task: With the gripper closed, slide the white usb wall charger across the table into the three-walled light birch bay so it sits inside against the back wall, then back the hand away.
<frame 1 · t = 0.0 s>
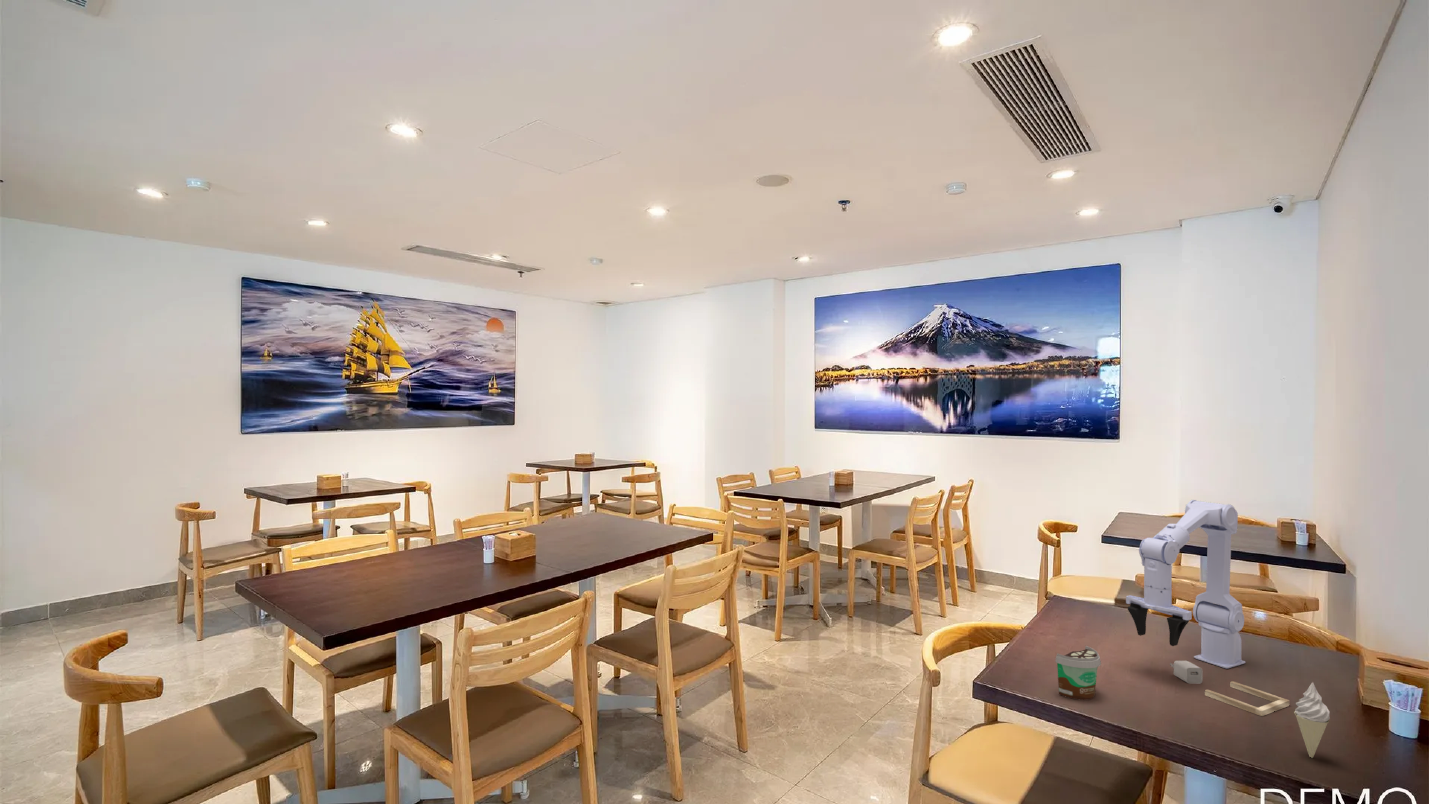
hand: (1157, 639, 158), 10 cm above the table, tool pointing down, fingers open, 7 cm apart
ice cream cone: (1311, 758, 123), on the table
food container: (1083, 696, 149), on the table
usb wall charger: (1183, 678, 160), on the table
charger bay: (1243, 699, 148), on the table
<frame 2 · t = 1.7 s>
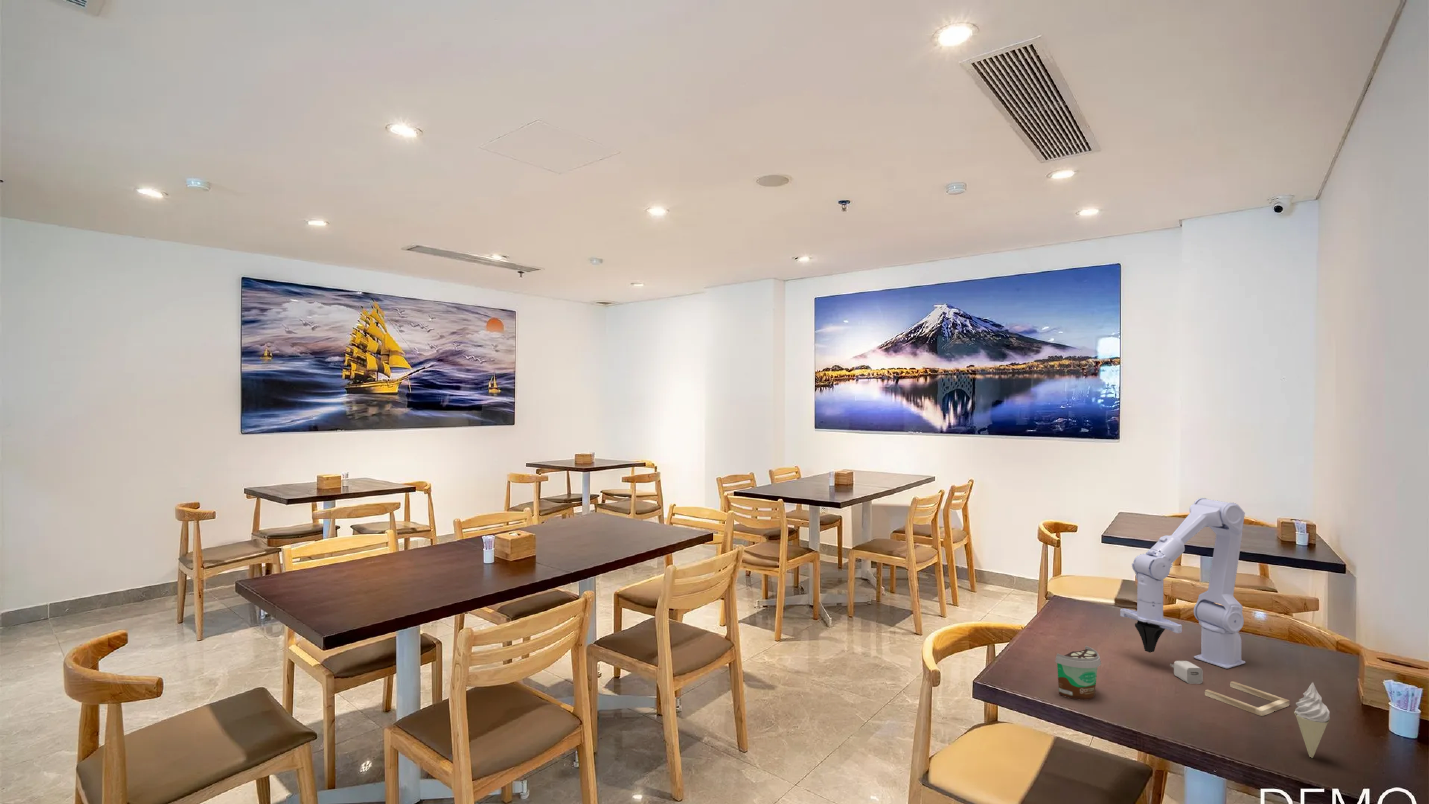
hand: (1149, 651, 167), 4 cm above the table, tool pointing down, fingers closed
nothing on the table moved.
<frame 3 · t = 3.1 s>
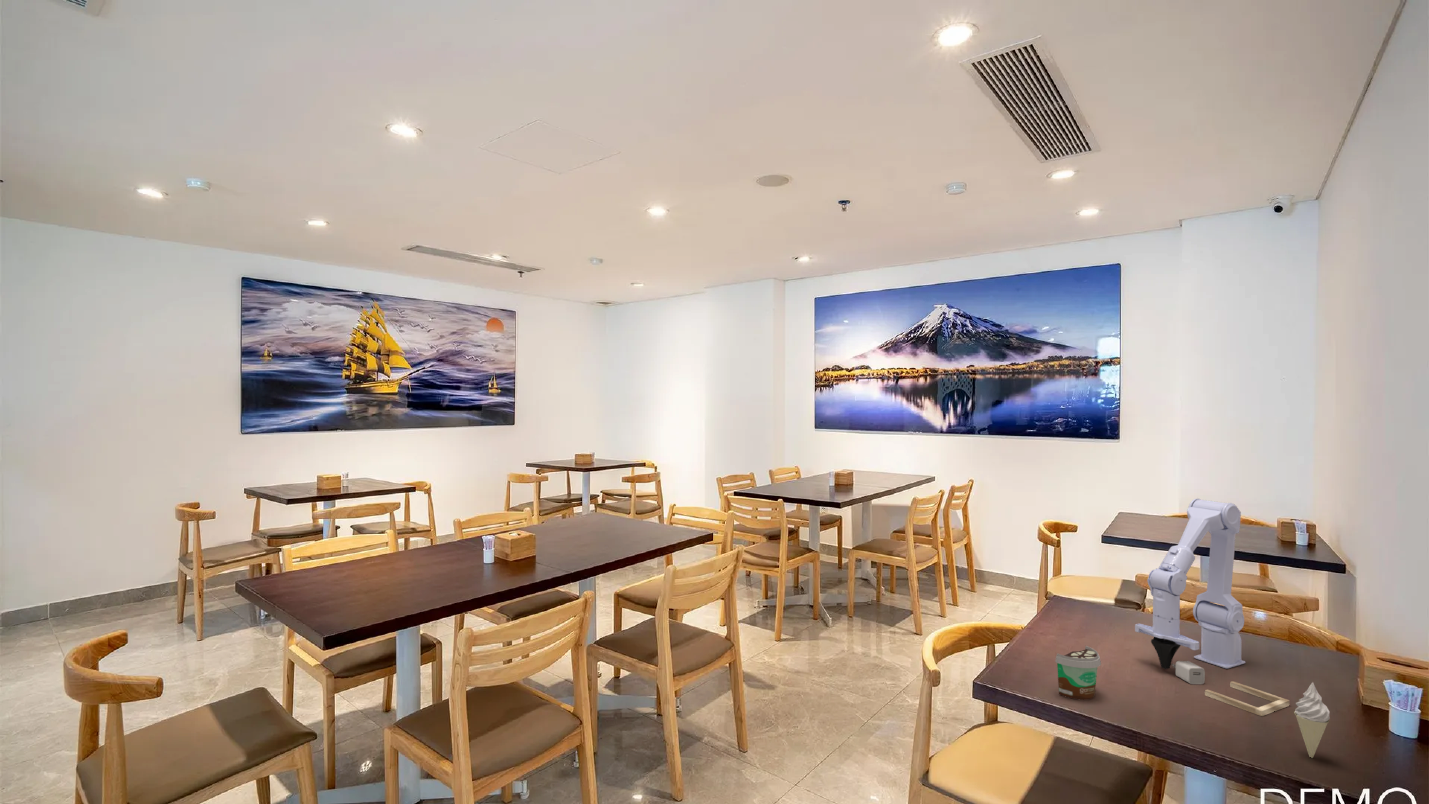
hand: (1165, 667, 163), 1 cm above the table, tool pointing down, fingers closed
usb wall charger: (1185, 678, 159), on the table, touching gripper
everything else where it was.
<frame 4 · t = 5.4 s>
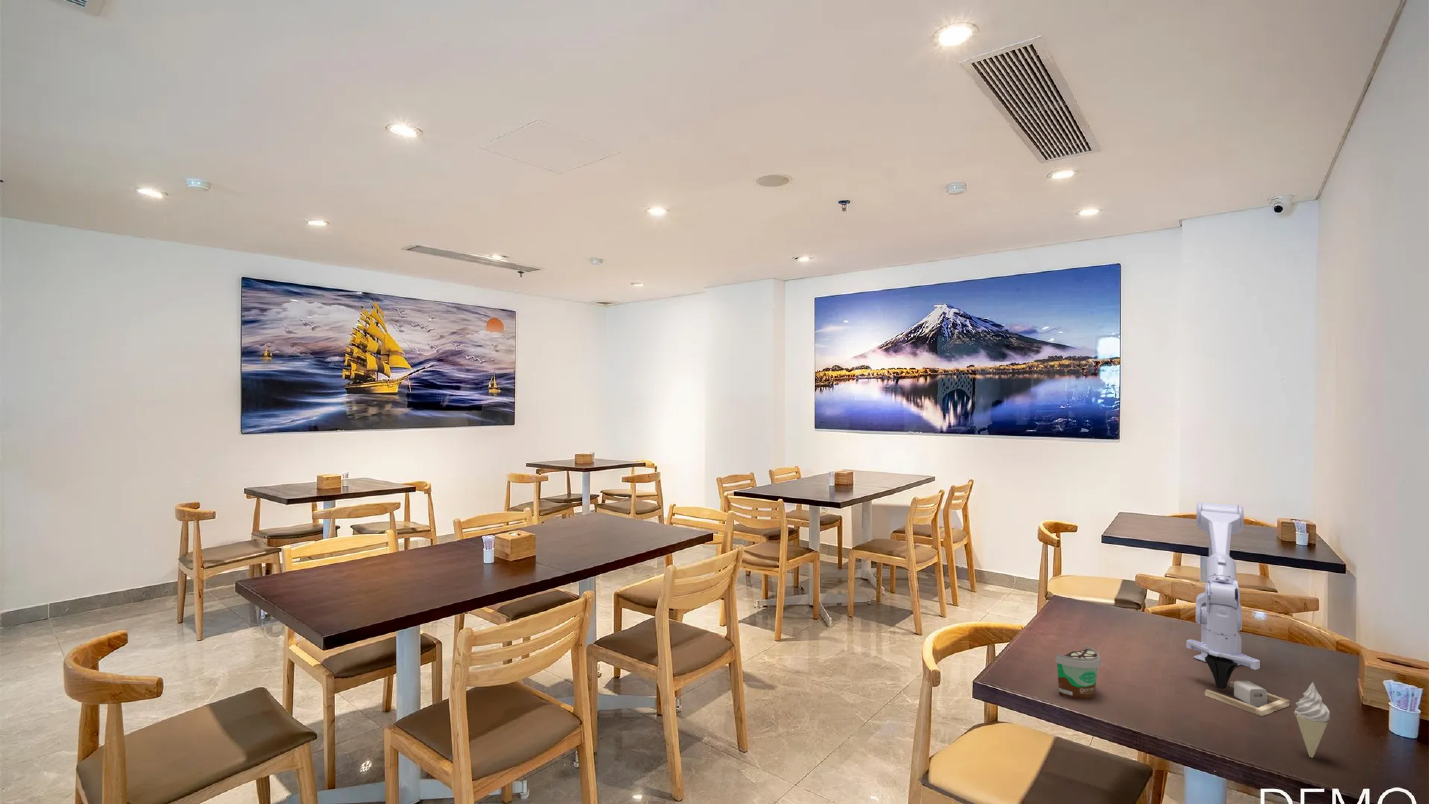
hand: (1221, 687, 152), 1 cm above the table, tool pointing down, fingers closed
usb wall charger: (1245, 700, 148), on the table, touching gripper
everything else where it was.
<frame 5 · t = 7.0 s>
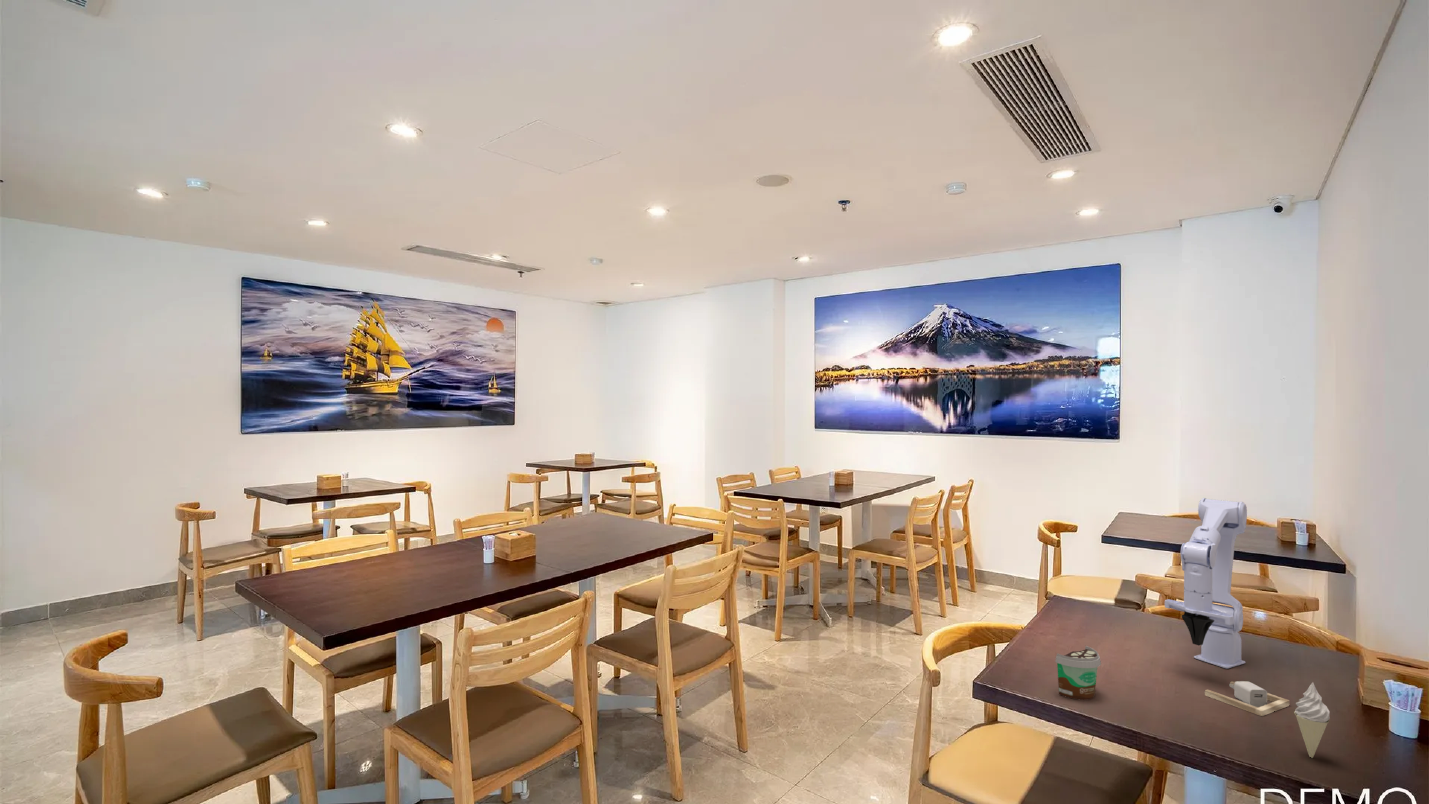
hand: (1197, 644, 158), 9 cm above the table, tool pointing down, fingers closed
usb wall charger: (1245, 700, 148), on the table
everything else where it was.
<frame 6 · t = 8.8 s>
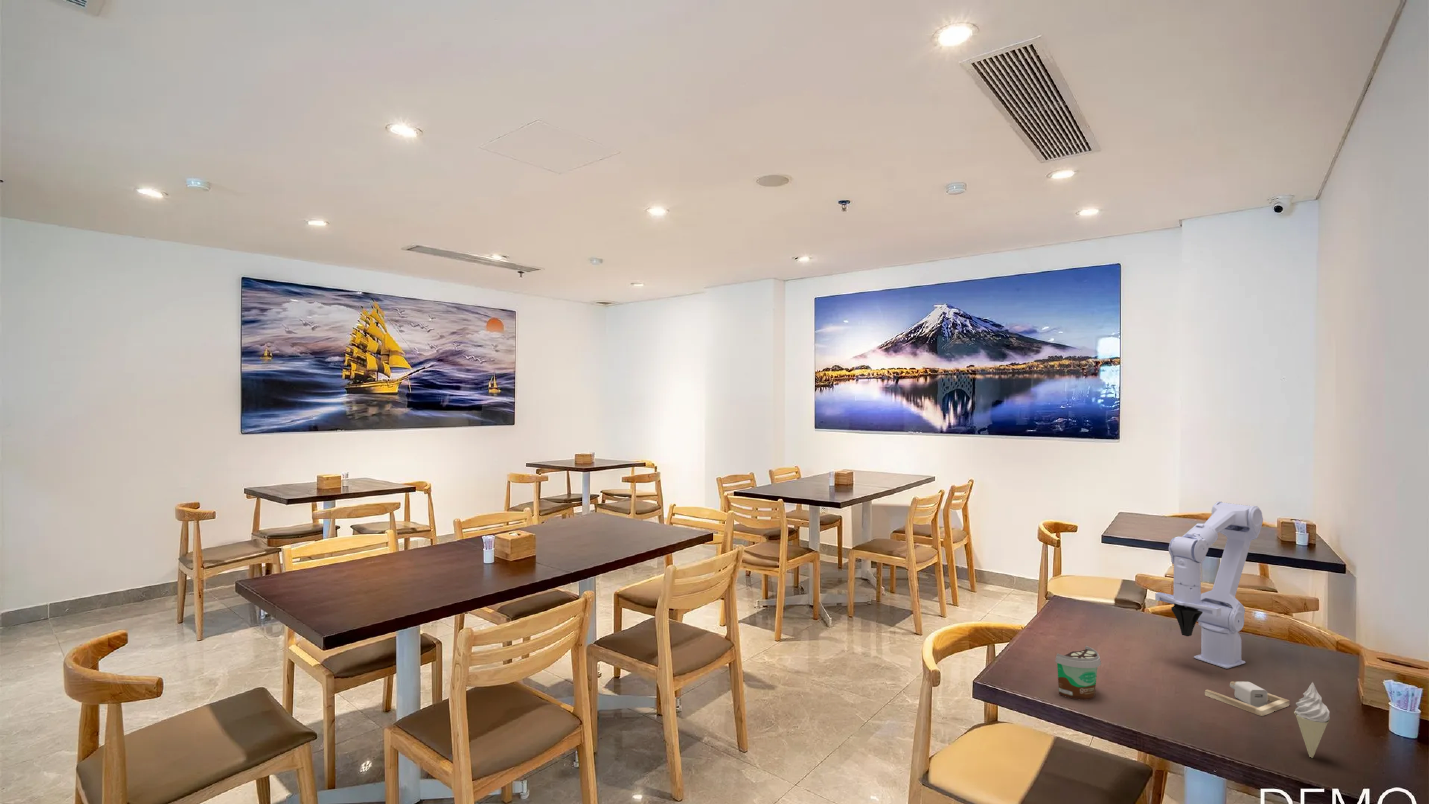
hand: (1186, 635, 164), 9 cm above the table, tool pointing down, fingers closed
nothing on the table moved.
at the end: usb wall charger inside the target area on the charger bay (0.3 cm from its centre), point 0.0 cm above the charger bay's base; usb wall charger tilted 0°; usb wall charger moved 13.4 cm from its start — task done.
